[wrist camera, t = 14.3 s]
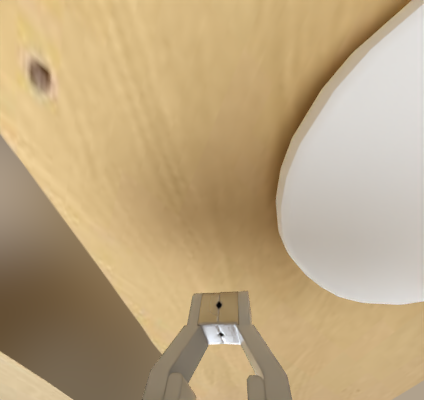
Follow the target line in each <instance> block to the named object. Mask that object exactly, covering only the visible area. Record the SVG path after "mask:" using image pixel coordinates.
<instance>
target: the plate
mask: <svg viewBox="0 0 424 400" xmlns="http://www.w3.org/2000/svg"><path fill="white" fill-rule="evenodd" d="M276 210H277V222H278V231H279V234H280V237H281V239H282V241H283V244H284V246H285V249H286V251H287V252H288V254H289V255H290V257H291V258H292V259H293V260H294V262H295V263H296V264H297V265H298V266H299V267H300V269H301V270H302V271H303V272H304V273H305V274H306V275H307V276H308V277H309V278H310V279H312V280H313V281H314V282H315V283H317V284H318V285H319V286H320V287H322V288H324V289H326V290H327V291H329V292H331V293H333V294H335V295H336V296H338V297H341V298H345V299H349V300H353V301H357V302H361V303H375V304H395V305H401V304H409V303H416V302H423V301H424V0H411V1H410V2H409V3H408V4H407V5H406V6H405V7H403V8H402V9H401V10H400V11H399V12H398V13H397V14H396V15H394V16H393V17H392V18H391V19H390V20H389V21H388V22H387V23H385V24H384V25H383V26H382V27H381V28H380V29H379V30H377V31H376V32H375V33H374V34H373V35H372V36H371V37H370V38H368V39H367V40H366V41H365V42H364V43H363V44H362V45H360V46H359V47H358V48H357V49H356V50H355V51H354V52H353V53H352V54H351V55H350V56H349V57H348V58H347V60H346V61H345V62H344V63H343V64H342V66H341V67H340V68H339V69H338V70H337V71H336V73H335V74H334V75H333V76H332V77H331V79H330V80H329V81H328V82H327V83H326V84H325V86H324V87H323V88H322V89H321V91H320V93H319V94H318V96H317V97H316V99H315V101H314V102H313V104H312V106H311V107H310V109H309V111H308V112H307V114H306V116H305V117H304V119H303V121H302V122H301V124H300V126H299V127H298V129H297V130H296V132H295V134H294V135H293V137H292V139H291V142H290V145H289V147H288V150H287V153H286V155H285V158H284V160H283V163H282V166H281V169H280V176H279V182H278V188H277V194H276Z"/></svg>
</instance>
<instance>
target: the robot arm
mask: <svg viewBox="0 0 424 400" xmlns="http://www.w3.org/2000/svg"><path fill="white" fill-rule="evenodd" d="M208 344H241V347H242V349H243V350H244V352H245V354H246V356H247V358H248V360H249V362H250V364H251V366H252V368H253V370H254V372H255V374H256V375H249V377H248V378H247V393H248V400H292V397H291V392H290V387H289V382H288V377H287V375H286V373H285V372H284V370H283V368H282V367H281V365H280V364H279V362H278V361H277V359H276V358H275V356H274V355H273V353H272V352H271V350H270V349H269V347H268V346H267V344H266V343H265V341H264V340H263V338H262V337H261V335H260V334H259V332H258V331H257V329H256V328H255V326H254V325H252V316H251V308H250V301H249V295H248V291H242V292H238V291H237V292H221V293H196V294H194V295H193V297H192V302H191V307H190V312H189V318H188V323H187V325H186V326H184V327H183V328H182V329H181V331H180V332H179V333H178V335H177V336H176V337H175V339H174V340H173V341H172V343H171V344H170V345H169V347H168V348H167V349H166V351H165V352H164V353H163V355H162V356H161V357H160V358H159V360H158V361H157V362H156V364H155V365H154V367H153V368H152V369H151V371H150V374H149V377H148V380H147V384H146V387H145V391H144V394H143V397H142V400H196V395H195V393H194V392H193V390H192V389H191V387H190V386H189V384H188V382H189V381H190V379H191V377H192V375H193V373H194V371H195V369H196V368H197V366H198V364H199V362H200V360H201V358H202V356H203V355H204V353H205V351H206V349H207V347H208Z"/></svg>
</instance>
